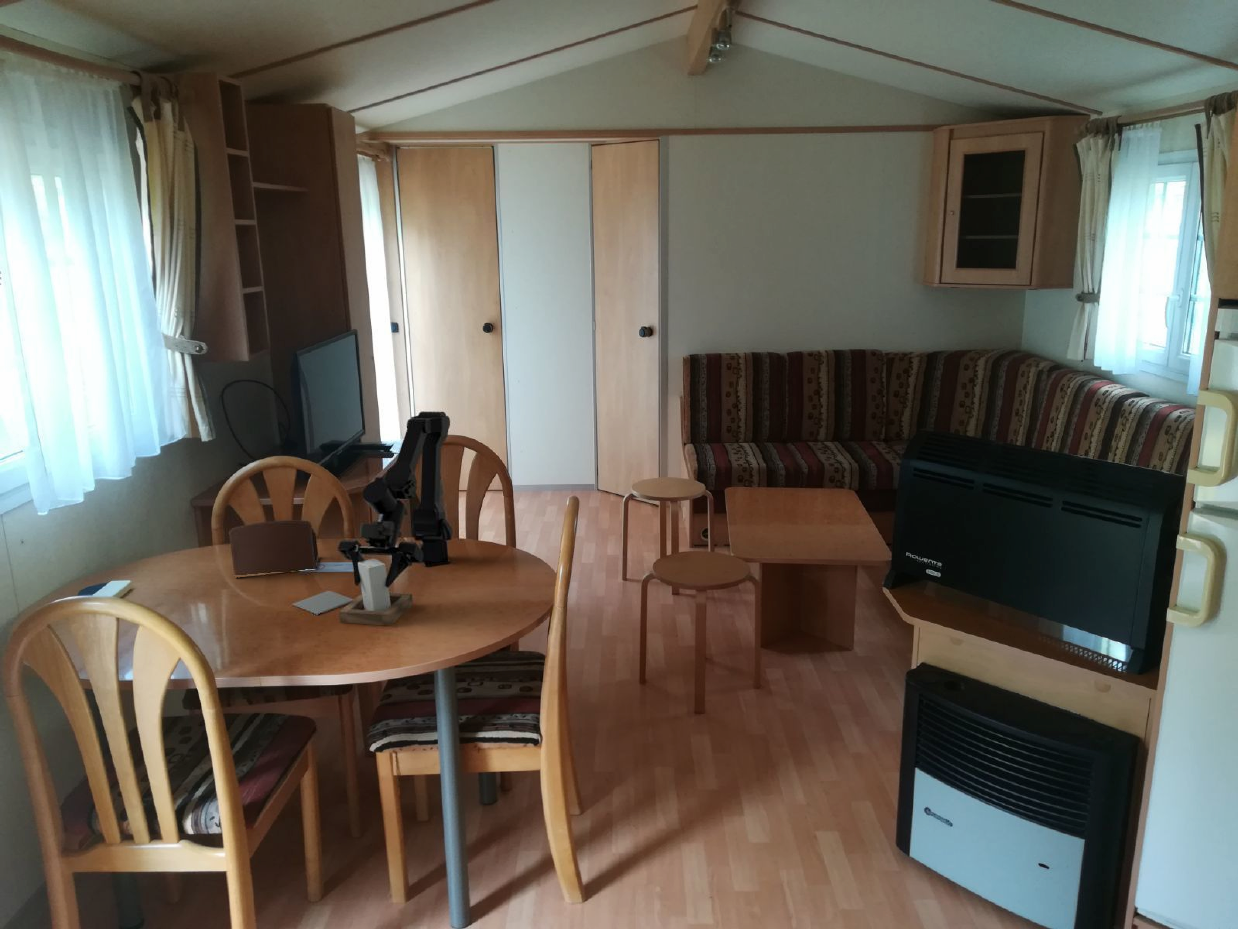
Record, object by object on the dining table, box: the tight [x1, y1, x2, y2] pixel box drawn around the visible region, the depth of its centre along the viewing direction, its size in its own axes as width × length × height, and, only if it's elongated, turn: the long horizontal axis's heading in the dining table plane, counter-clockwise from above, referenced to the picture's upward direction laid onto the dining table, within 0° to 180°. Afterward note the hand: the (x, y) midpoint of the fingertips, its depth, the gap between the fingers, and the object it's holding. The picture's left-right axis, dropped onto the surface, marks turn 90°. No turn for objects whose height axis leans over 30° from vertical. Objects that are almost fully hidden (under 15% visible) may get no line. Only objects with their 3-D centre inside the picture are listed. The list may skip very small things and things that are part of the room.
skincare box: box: [358, 557, 391, 611], centre depth 205 cm, size 6×4×12 cm
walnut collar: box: [338, 592, 414, 626], centre depth 206 cm, size 12×12×2 cm
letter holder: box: [228, 519, 319, 575], centre depth 236 cm, size 10×20×14 cm, turn 104°
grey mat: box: [291, 590, 355, 616], centre depth 213 cm, size 10×10×1 cm
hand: (371, 586), depth 203 cm, fingers closed on skincare box, 7 cm apart
